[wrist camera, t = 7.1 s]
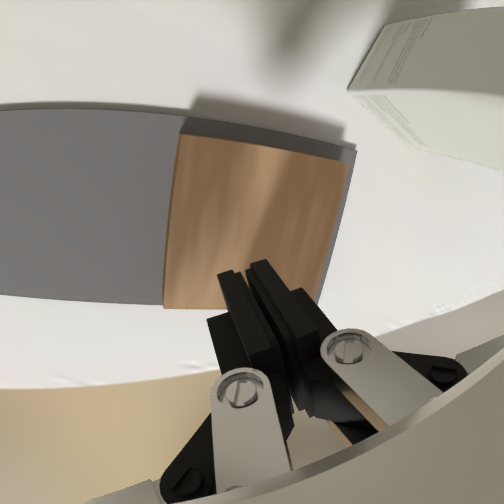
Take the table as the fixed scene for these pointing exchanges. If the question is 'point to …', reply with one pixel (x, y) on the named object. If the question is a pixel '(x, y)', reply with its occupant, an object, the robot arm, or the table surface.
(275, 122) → the table surface
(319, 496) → the robot arm
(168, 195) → the mat
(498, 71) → the supplement box
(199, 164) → the tile
